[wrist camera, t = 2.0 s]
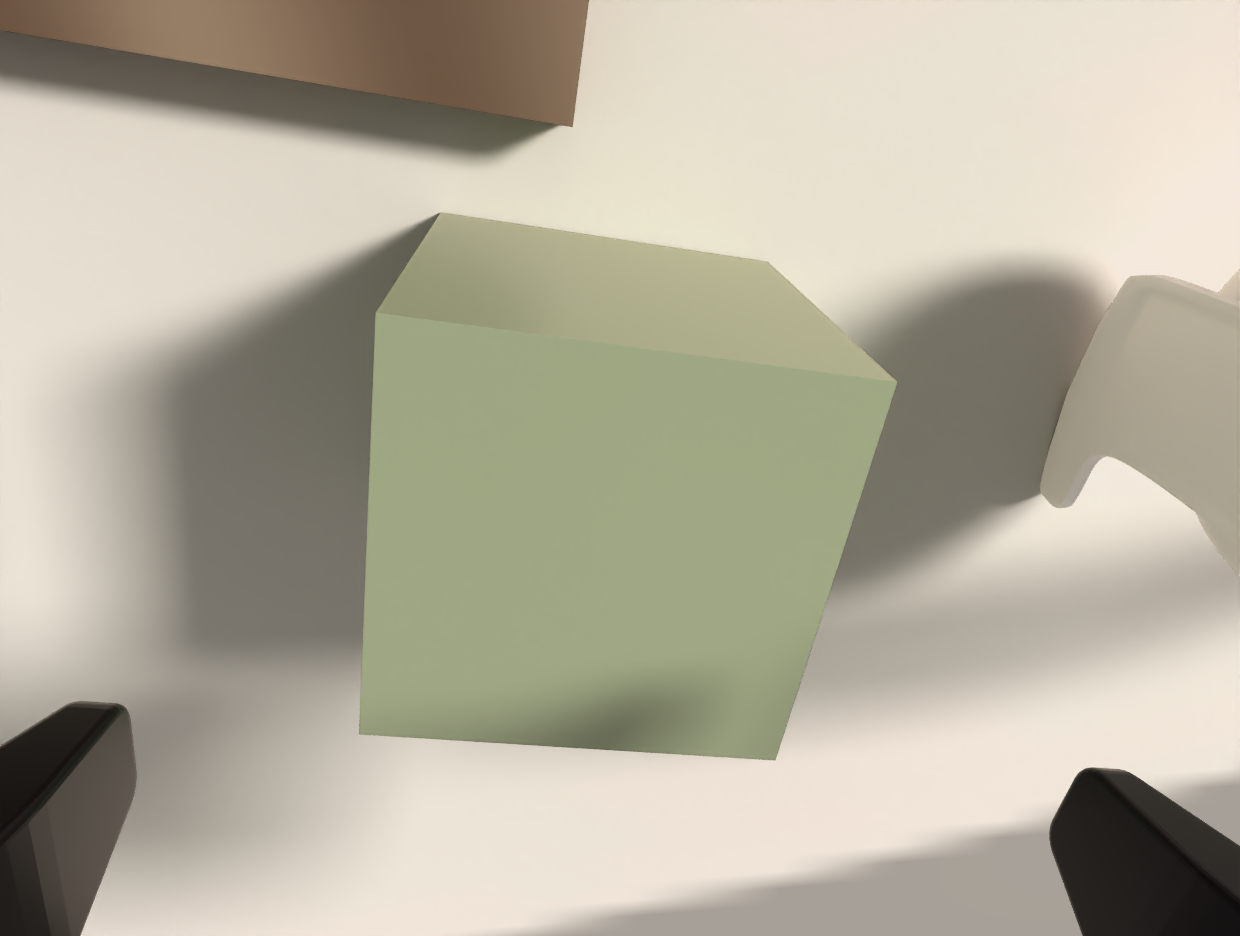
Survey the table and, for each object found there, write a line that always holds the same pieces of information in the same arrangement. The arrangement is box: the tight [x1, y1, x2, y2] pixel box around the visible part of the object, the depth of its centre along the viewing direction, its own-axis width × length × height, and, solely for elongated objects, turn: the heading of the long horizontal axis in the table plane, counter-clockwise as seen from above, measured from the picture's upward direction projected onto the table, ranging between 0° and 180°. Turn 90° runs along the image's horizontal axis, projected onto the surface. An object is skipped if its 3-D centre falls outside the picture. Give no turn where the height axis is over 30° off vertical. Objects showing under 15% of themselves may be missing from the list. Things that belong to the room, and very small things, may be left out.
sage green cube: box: [359, 213, 897, 760], centre depth 14 cm, size 6×6×7 cm
